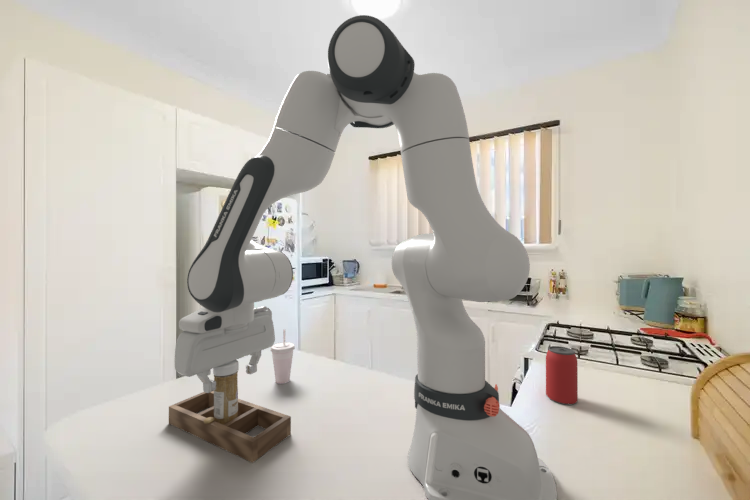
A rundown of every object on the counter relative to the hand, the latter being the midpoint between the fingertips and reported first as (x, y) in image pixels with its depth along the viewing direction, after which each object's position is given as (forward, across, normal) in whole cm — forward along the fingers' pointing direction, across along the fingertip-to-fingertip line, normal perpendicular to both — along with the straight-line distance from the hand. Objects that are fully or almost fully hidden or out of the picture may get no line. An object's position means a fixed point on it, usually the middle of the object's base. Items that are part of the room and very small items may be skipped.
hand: (232, 381), depth 61 cm
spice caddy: (+9, +1, 0) cm, 9 cm away
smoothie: (+10, -21, -8) cm, 24 cm away
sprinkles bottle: (+9, +1, 0) cm, 9 cm away
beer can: (+11, -46, +59) cm, 76 cm away
